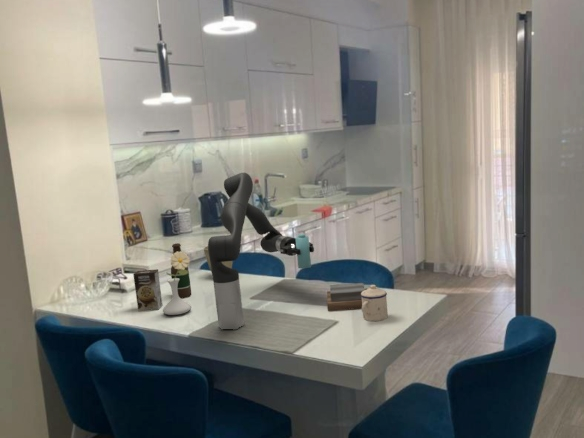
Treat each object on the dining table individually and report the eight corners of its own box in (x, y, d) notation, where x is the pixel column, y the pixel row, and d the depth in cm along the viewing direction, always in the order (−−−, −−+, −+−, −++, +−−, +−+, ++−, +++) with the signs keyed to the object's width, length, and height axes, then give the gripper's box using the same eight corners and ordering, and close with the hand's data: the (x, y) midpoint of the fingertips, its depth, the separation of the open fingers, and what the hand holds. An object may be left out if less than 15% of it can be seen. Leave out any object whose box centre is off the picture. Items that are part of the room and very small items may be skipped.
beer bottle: (170, 298, 246) (163, 245, 243) (181, 293, 253) (175, 242, 250) (184, 299, 243) (177, 245, 239) (195, 294, 250) (188, 242, 246)
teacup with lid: (371, 311, 202) (368, 280, 200) (393, 315, 196) (390, 283, 194) (353, 322, 193) (350, 289, 191) (375, 325, 187) (372, 292, 185)
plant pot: (218, 283, 265) (214, 250, 263) (201, 279, 276) (197, 248, 274) (243, 276, 275) (239, 244, 272) (226, 272, 286) (222, 242, 284)
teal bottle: (310, 267, 218) (308, 235, 216) (297, 268, 218) (294, 236, 217) (311, 264, 223) (308, 233, 221) (298, 265, 223) (295, 234, 222)
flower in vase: (163, 319, 217) (155, 257, 213) (162, 311, 228) (154, 252, 224) (197, 313, 220) (189, 252, 217) (194, 306, 231) (187, 247, 227)
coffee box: (137, 311, 231) (132, 274, 229) (142, 307, 237) (137, 270, 235) (159, 309, 231) (154, 272, 228) (163, 305, 237) (158, 268, 235)
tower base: (370, 308, 206) (369, 292, 205) (327, 311, 207) (326, 295, 207) (367, 295, 222) (366, 281, 221) (327, 298, 223) (326, 284, 222)
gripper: (271, 239, 229) (289, 244, 214) (301, 234, 235) (321, 238, 220) (272, 257, 230) (290, 263, 215) (303, 251, 236) (323, 257, 221)
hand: (306, 250), depth 217 cm, fingers closed on teal bottle, 5 cm apart
